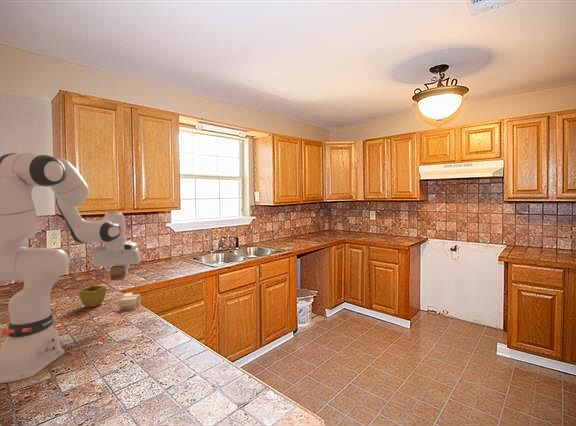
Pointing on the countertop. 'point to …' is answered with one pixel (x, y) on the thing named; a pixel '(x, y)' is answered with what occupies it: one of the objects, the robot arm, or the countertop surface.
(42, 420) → the countertop surface
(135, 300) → the maple block
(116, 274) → the walnut cube
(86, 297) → the flower pot
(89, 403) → the countertop surface
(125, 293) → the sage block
